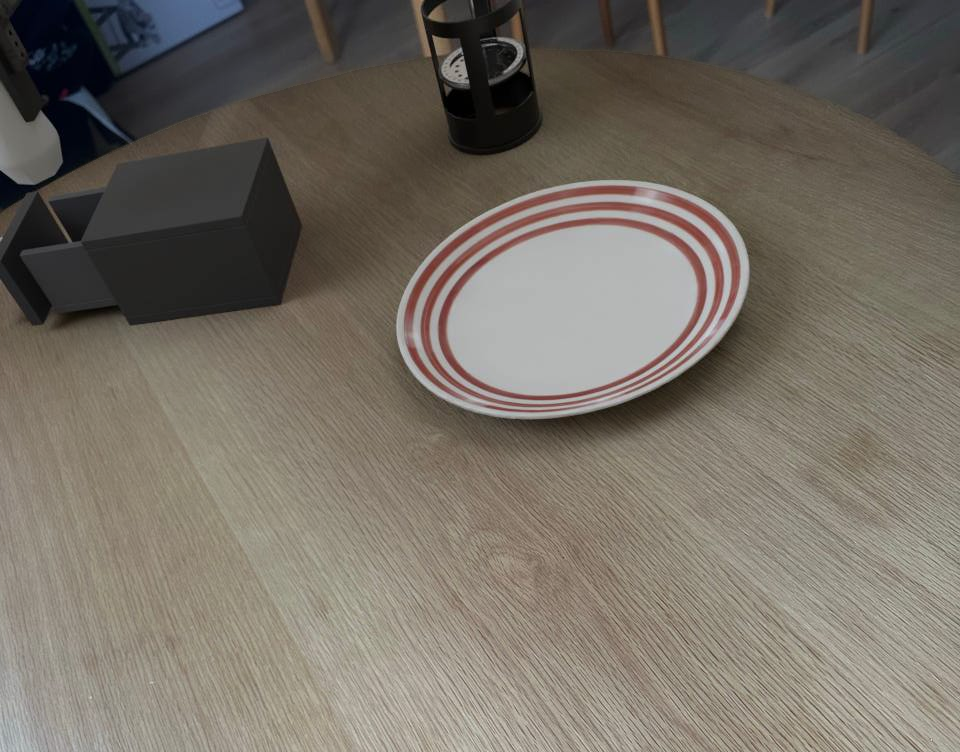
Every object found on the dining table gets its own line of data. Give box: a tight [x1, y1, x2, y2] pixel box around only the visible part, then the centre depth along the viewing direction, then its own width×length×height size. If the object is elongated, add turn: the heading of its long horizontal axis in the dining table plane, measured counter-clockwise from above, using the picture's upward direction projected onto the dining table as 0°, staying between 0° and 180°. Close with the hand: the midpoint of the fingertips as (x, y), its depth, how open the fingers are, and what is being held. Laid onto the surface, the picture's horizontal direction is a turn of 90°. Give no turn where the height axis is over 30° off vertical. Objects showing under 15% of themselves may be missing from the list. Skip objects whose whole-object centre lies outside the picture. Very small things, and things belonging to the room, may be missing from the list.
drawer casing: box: [81, 137, 303, 326], centre depth 92 cm, size 15×12×9 cm
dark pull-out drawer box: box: [0, 186, 118, 327], centre depth 95 cm, size 20×11×7 cm, turn 86°
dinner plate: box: [395, 179, 751, 420], centre depth 80 cm, size 27×27×3 cm
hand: (7, 117), depth 81 cm, fingers closed on salt shaker, 4 cm apart
